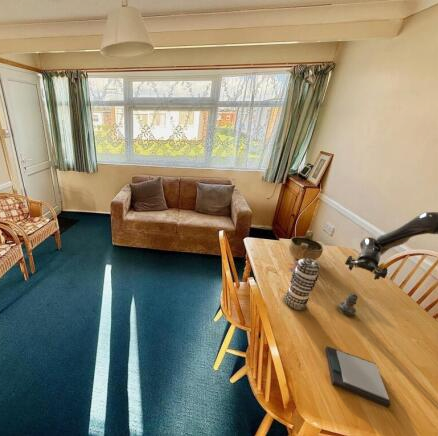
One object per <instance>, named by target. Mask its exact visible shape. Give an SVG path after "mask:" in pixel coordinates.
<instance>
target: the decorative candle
mask: <svg viewBox="0 0 438 436" xmlns="http://www.w3.org/2000/svg"><path fill="white" fill-rule="evenodd" d="M297 261H298V266H297V267H296V269H295V270H294V272H292V274H291V278H290V281H289V282H290V285H289V288H288V289H287V290H286V294H285V296H284V303H285V304H286V305H288V307H289V308H292V309H295V310H296V311H297V310H299V311H301V310H302V311H303V310H304V309H306V307H307V305H308V302H309V299H310V293H311V292H312V291H313V289H314V288H315V285H316V283H317V281H318V280H319V276H320V275H319V274H318V272H319V271H320V270H321V266H320V265H319V263H318V262H317V260H312V259H309V258H304V259H300V260H298V259H297Z"/></svg>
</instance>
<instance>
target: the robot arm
mask: <svg viewBox="0 0 438 436" xmlns="http://www.w3.org/2000/svg"><path fill="white" fill-rule="evenodd" d="M421 235H438V211H427V212H423V213H420V214H419V215H417V216H416V217H414V218H412V219H411V220H410V221H408V222H406V223H404V224H403V225H401V226H399V227H398V228H396V229H394V230H392V231H389V232H387V233H383V234H382V235H380V236H378V237H377V238H375V237H372V236H369V237H368V236H367V237H365V238H362V240H361V241H360V243H359V247H360V253H359V254H358V256H357V258H354V257H353V256H352V255H349V256H348V257H347V259H346V261H345V263H344V265H346V266H348V270H349V271H353V269H354V268H355V269H357V268H358V269H362V270H366V271H368V272H370V273H371V274H372V275H374V277H373V279H374V280H375V281H377V280H379V279H380V278H381V279H386V277H387V275H388V268H387V267H383V268H382V267H380V266H379V263H380V260H381V257H382V256H383V255H385V253H387V251H389V250H391V249H393V248H396V247H399V246H402V245H404V244H406V243H407V242H408V241H410V239H411V238H413V237H416V236H421Z"/></svg>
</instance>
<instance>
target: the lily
mask: <svg viewBox="0 0 438 436" xmlns="http://www.w3.org/2000/svg"><path fill="white" fill-rule="evenodd" d="M293 263H294V266H291V267H289V268H288V269H287V270H288V271H289V272H291V273H293V272H294V270H295V269H296V267H297V266H298V260H297V259H296V258H294V259H293Z"/></svg>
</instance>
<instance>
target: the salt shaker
mask: <svg viewBox="0 0 438 436" xmlns="http://www.w3.org/2000/svg"><path fill="white" fill-rule="evenodd" d="M357 300H358V295H356V292H353V293H349V294H348V295H347V297H346V298H345V301H344V302H339V305H338V306H339V310H340V311H341V313H343V314H345V315H349V316H350V315H353V314H355V313H357V309H356V308H355V307H354V306H355V305H356V304H357Z"/></svg>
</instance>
